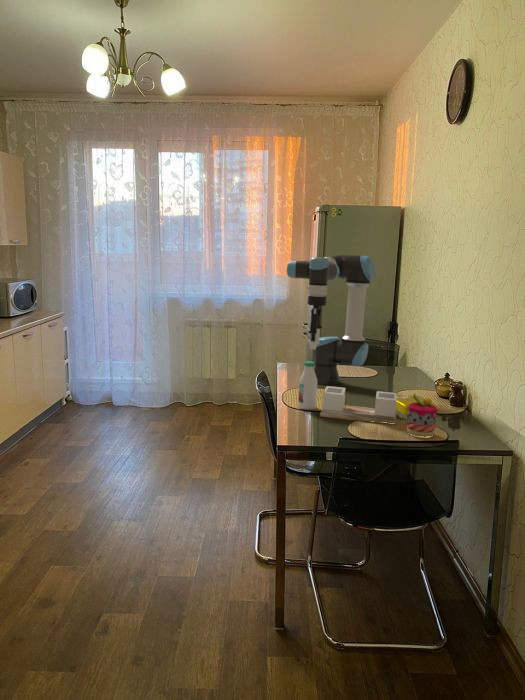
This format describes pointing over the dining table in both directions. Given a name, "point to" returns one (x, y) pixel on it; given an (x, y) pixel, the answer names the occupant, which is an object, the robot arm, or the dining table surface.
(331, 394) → the mounted modules
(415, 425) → the cake
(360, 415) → the mounting board
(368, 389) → the dining table surface
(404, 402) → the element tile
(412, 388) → the dining table surface
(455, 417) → the dining table surface
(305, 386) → the milk bottle
